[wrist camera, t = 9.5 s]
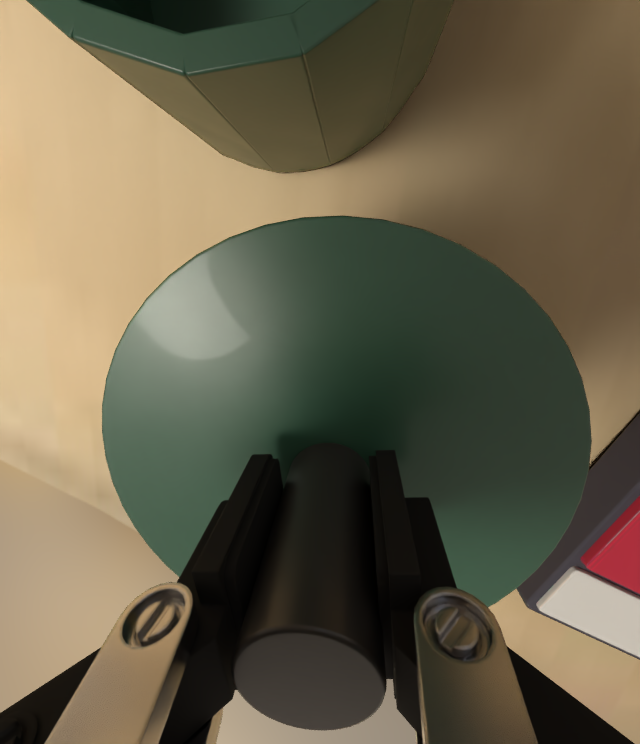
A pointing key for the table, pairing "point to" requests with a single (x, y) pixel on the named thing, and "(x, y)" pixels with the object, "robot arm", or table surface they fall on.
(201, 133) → the tin
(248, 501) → the robot arm
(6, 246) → the table surface
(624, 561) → the grey red flat block
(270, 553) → the tin lid
